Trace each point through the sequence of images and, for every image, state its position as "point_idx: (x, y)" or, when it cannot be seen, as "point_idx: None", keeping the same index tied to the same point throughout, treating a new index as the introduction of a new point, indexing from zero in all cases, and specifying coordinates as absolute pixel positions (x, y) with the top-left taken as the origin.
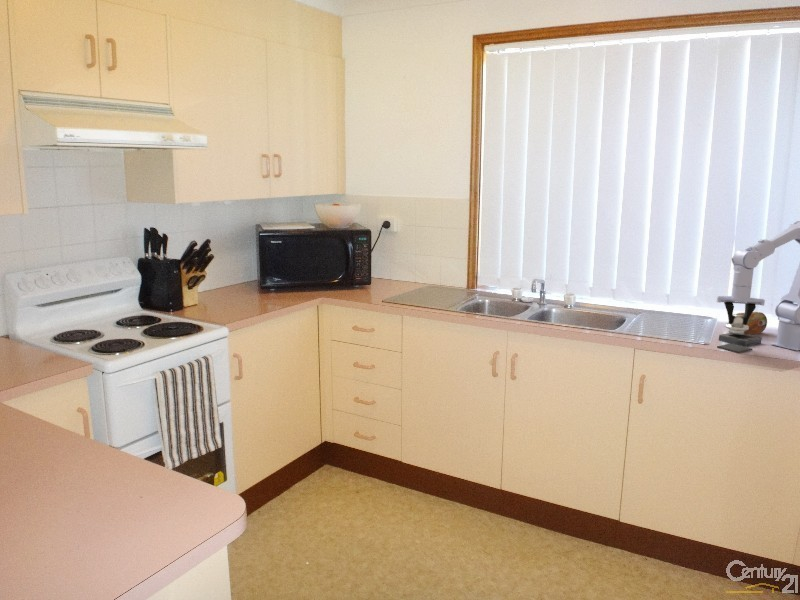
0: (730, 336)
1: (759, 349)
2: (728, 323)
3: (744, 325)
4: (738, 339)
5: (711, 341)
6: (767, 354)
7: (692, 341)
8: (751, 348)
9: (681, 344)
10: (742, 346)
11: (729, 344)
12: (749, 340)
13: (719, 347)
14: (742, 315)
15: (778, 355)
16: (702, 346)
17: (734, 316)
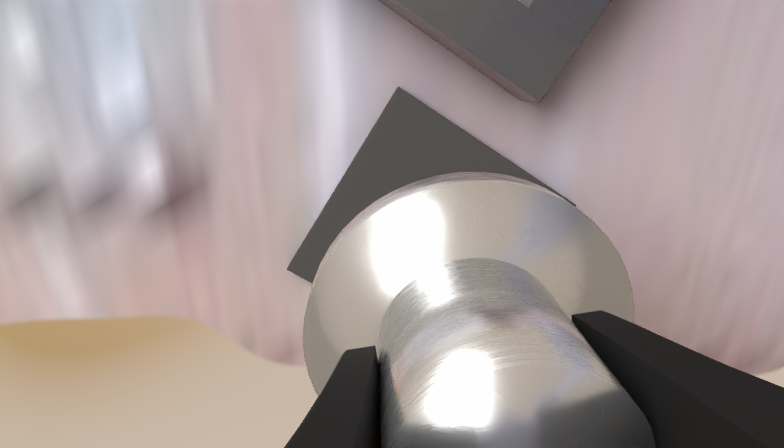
0: None
1: (636, 140)
2: (342, 277)
3: (581, 288)
4: (474, 55)
5: (213, 34)
6: (665, 282)
7: (50, 139)
8: (568, 201)
9: (2, 305)
10: (498, 166)
11: (386, 145)
12: (587, 30)
13: (308, 278)
14: (620, 410)
15: (744, 271)
16: (173, 284)
17: None
